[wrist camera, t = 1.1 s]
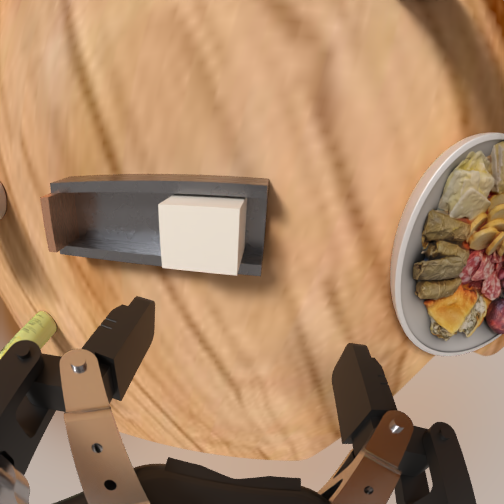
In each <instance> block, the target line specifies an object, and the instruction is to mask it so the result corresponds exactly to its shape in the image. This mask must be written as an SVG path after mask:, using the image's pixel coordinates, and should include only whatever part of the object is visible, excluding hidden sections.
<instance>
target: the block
mask: <svg viewBox="0 0 504 504" xmlns="http://www.w3.org/2000/svg"><path fill="white" fill-rule="evenodd" d="M246 210H247V197H235V196H219V195H201V194H177V193H175V194H174V195H172V196H170V197H169V198H167V199H166V200H164V201H163V202H161V203H160V204H158V212H159V232H160V247H161V260H162V268H168V269H177V270H186V271H196V272H206V273H216V274H226V275H236V276H237V274H238V270H239V267H240V263H241V260H242V256H243V253H244V249H245V229H246Z"/></svg>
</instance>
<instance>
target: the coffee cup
mask: <svg viewBox="0 0 504 504" xmlns="http://www.w3.org/2000/svg"><path fill="white" fill-rule="evenodd" d="M5 211H6V194H5V191H4V188H3V186H2V184H1V182H0V219H1V218H2V217H3V216H4V214H5Z"/></svg>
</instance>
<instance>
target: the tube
mask: <svg viewBox="0 0 504 504" xmlns="http://www.w3.org/2000/svg"><path fill="white" fill-rule="evenodd" d="M56 329H57V328H56V324H55V322H54V320H53V319H52V317H51V316H50V315H49V314H47V313H46V312H44V311H39V312H38V313H37V314H36V315H35V316H34V317H33V318H32V319H31V320H30V321H29V322H28V323H27V324H26V325H25V326H24V327H23V328H22V329H21V330H20V331H19V332H18V333H17V334H16V335H15V336H14V337H13V338H12V339H11V341H10V342H9V343H8V344H7V345H6V346H5V347H4V348H3V349H2V350H1V352H0V359H1V358H2V356H3V355H4V354H5V353H6V352H7V350H8V349H9V348H10V347H11V346H12V345H13V344H14V343H16V342H18V341H21V340H30V341H33V342H35V343H36V344H37V345H38V346H39V348H40V349H41V348H42V347H43V346H44V345H45V343H46V342H47V341H48V340H49V339H50V338H51V337H52V336H53V334H54V333H55V332H56Z"/></svg>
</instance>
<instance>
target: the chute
mask: <svg viewBox="0 0 504 504" xmlns="http://www.w3.org/2000/svg"><path fill="white" fill-rule="evenodd" d="M268 184H269V179H263V178H248V177H232V176H211V175H177V174H126V175H94V176H74V177H68V178H65V179H62V180H59V181H56V182H53V183H50V186H51V193H50V194H48V195H45V196H43V197H40V198H41V206H42V213H43V220H44V226H45V232H46V238H47V243H48V248H49V251H50V252H58V251H59V250H60V254H65V255H73V256H80V257H88V258H96V259H104V260H112V261H120V262H129V263H137V264H146V265H155V266H162V260H161V247H160V232H159V212H158V204H160V203H161V202H163V201H164V200H166V199H167V198H169V197H170V196H172V195H174V194H175V193H177V194H201V195H219V196H235V197H247V210H246V229H245V249H244V253H243V256H242V260H241V263H240V267H239V270H238V274H243V275H254V276H261V269H262V261H263V250H264V237H265V224H266V211H267V197H268Z"/></svg>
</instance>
